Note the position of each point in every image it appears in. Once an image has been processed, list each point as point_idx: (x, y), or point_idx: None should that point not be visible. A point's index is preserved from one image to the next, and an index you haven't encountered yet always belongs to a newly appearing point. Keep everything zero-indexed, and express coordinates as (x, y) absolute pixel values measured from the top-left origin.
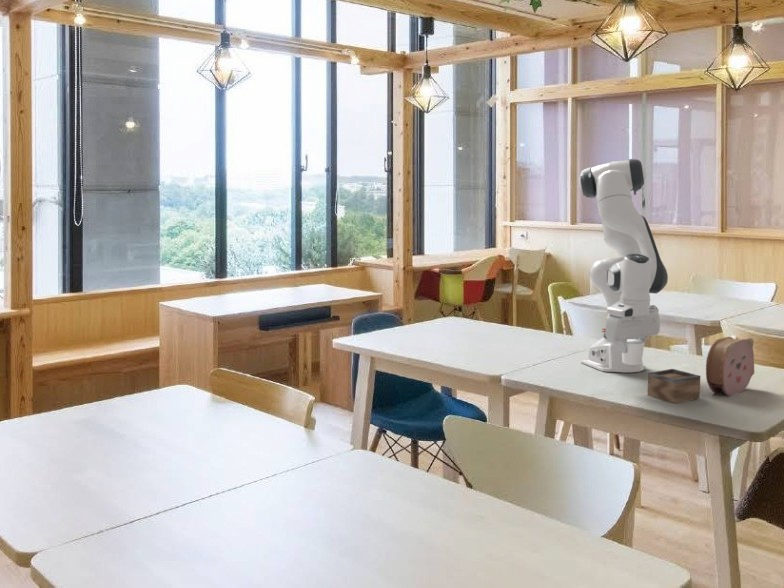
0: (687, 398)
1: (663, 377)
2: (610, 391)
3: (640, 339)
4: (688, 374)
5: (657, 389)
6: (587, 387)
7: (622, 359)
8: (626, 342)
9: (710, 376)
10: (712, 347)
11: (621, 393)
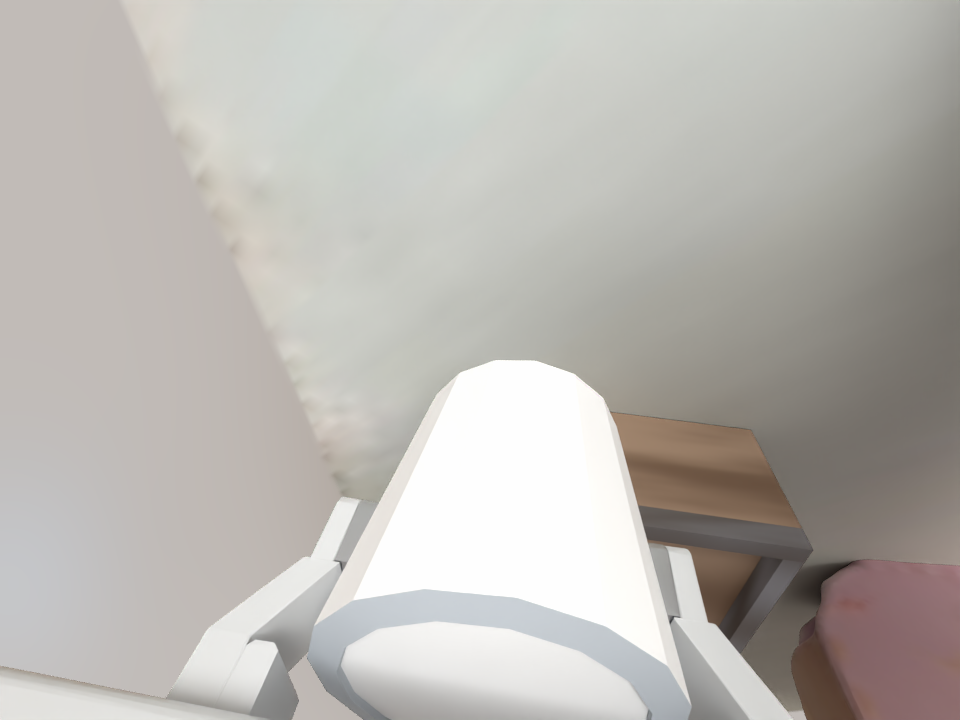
0: None
1: None
2: (419, 218)
3: (734, 716)
4: (728, 632)
5: None
6: (340, 4)
7: (445, 395)
8: (293, 695)
9: (820, 673)
10: None
11: (445, 294)
